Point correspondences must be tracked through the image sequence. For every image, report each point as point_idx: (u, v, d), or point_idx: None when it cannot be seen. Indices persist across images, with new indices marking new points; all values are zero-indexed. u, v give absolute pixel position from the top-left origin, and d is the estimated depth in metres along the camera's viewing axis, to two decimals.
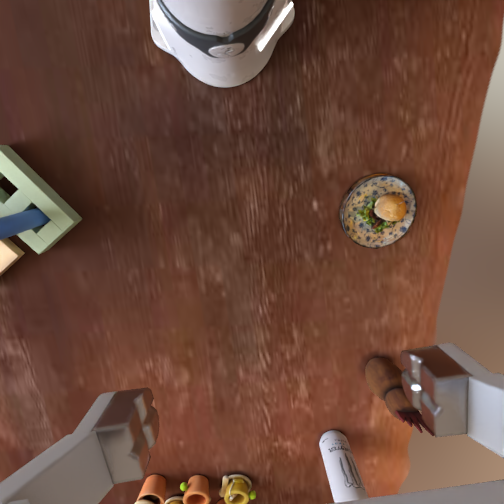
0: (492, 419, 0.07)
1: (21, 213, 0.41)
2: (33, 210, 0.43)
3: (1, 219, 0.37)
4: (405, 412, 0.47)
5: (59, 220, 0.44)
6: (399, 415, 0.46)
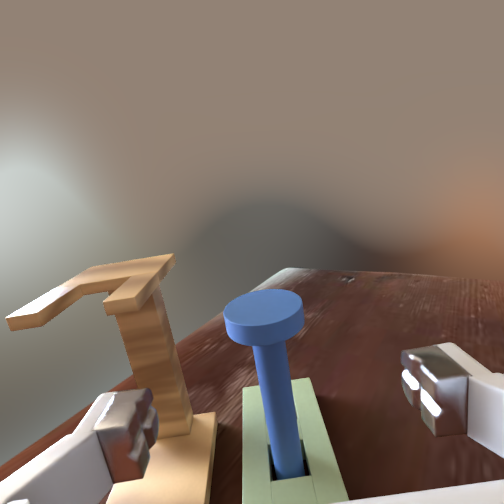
0: (492, 419, 0.07)
1: None
2: None
3: None
4: None
5: (324, 483, 0.23)
6: None
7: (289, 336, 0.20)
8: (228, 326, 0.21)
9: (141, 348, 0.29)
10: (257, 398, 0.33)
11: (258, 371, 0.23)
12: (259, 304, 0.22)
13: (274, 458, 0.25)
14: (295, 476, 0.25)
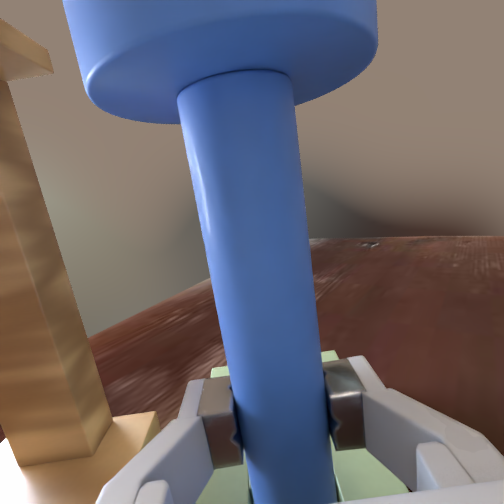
0: (381, 435, 0.07)
1: None
2: None
3: None
4: None
5: None
6: None
7: (332, 3, 0.04)
8: (69, 24, 0.05)
9: None
10: None
11: (210, 261, 0.07)
12: None
13: None
14: None
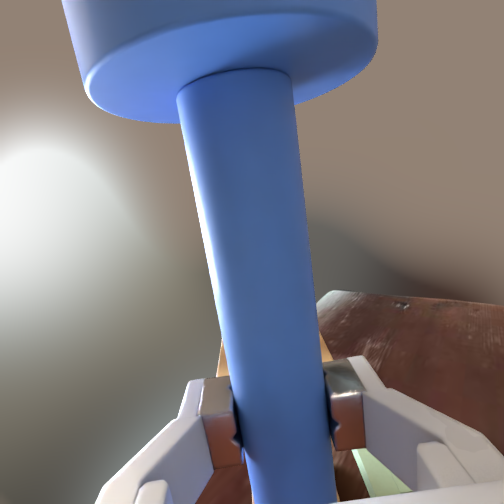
0: (382, 435, 0.07)
1: None
2: None
3: None
4: None
5: None
6: None
7: (332, 1, 0.04)
8: (68, 22, 0.05)
9: None
10: None
11: (210, 260, 0.07)
12: None
13: None
14: None
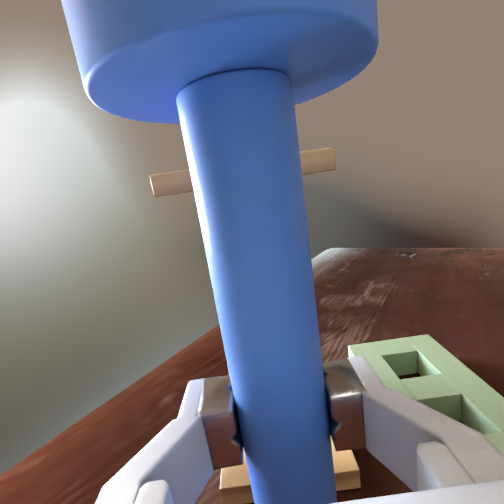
0: (382, 435, 0.07)
1: None
2: None
3: None
4: None
5: None
6: None
7: (332, 1, 0.04)
8: (67, 22, 0.05)
9: None
10: (373, 355, 0.28)
11: (210, 260, 0.07)
12: None
13: None
14: None
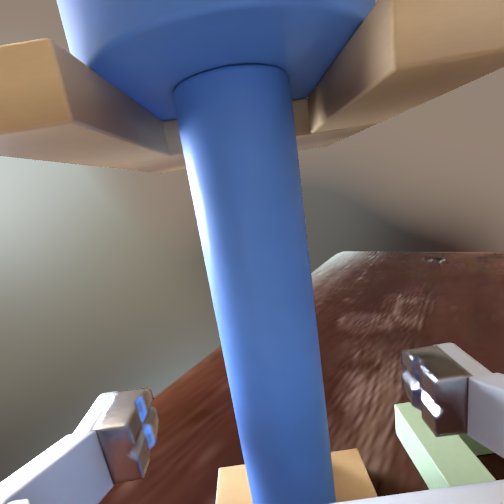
0: (492, 419, 0.07)
1: None
2: None
3: None
4: None
5: None
6: None
7: None
8: (61, 17, 0.05)
9: None
10: None
11: (207, 259, 0.07)
12: None
13: None
14: None
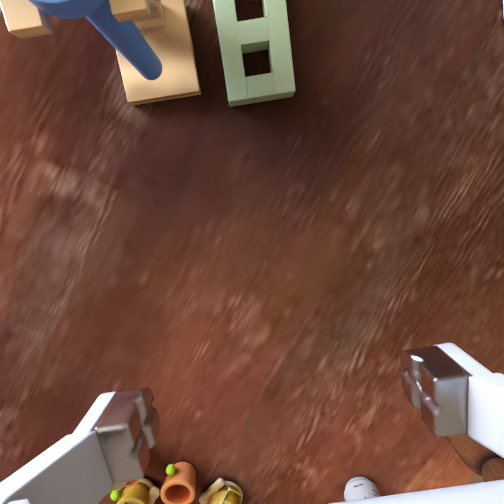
0: (492, 419, 0.07)
1: (142, 35, 0.27)
2: None
3: None
4: None
5: (281, 78, 0.35)
6: None
7: (98, 4, 0.17)
8: None
9: None
10: None
11: None
12: None
13: (129, 62, 0.29)
14: (151, 72, 0.31)
